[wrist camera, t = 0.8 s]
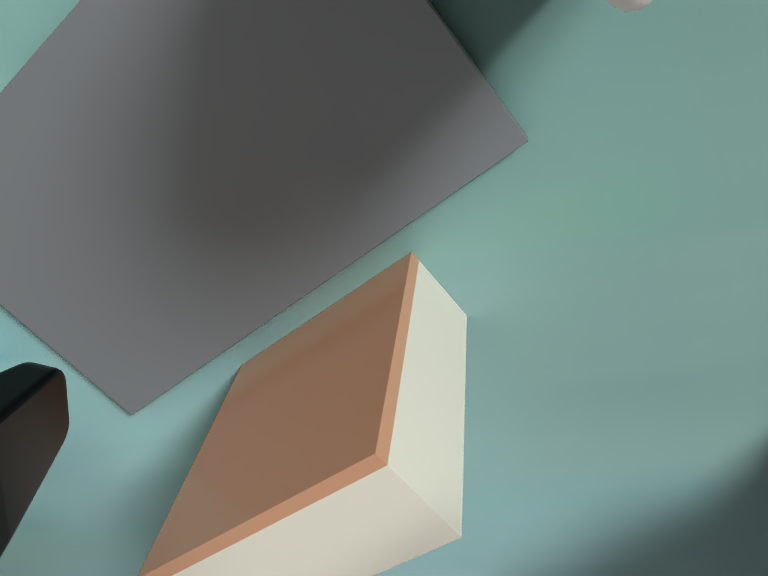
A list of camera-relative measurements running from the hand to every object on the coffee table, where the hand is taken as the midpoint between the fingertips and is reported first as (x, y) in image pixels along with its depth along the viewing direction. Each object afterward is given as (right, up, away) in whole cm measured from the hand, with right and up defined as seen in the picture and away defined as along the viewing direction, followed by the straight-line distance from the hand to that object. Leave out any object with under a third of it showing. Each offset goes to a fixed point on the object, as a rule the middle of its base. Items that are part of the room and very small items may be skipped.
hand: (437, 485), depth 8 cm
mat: (-7, +6, +13) cm, 16 cm away
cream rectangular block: (-2, 0, +16) cm, 16 cm away
